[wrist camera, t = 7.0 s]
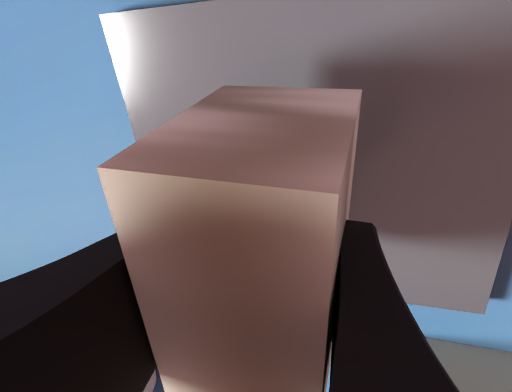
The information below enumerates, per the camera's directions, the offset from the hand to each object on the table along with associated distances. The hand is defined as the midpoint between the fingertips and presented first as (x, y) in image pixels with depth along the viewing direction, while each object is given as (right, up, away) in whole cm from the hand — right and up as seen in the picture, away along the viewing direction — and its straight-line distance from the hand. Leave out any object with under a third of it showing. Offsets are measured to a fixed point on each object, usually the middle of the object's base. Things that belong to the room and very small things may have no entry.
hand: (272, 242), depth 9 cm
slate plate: (+1, +2, +4) cm, 5 cm away
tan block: (+1, +1, +1) cm, 2 cm away
